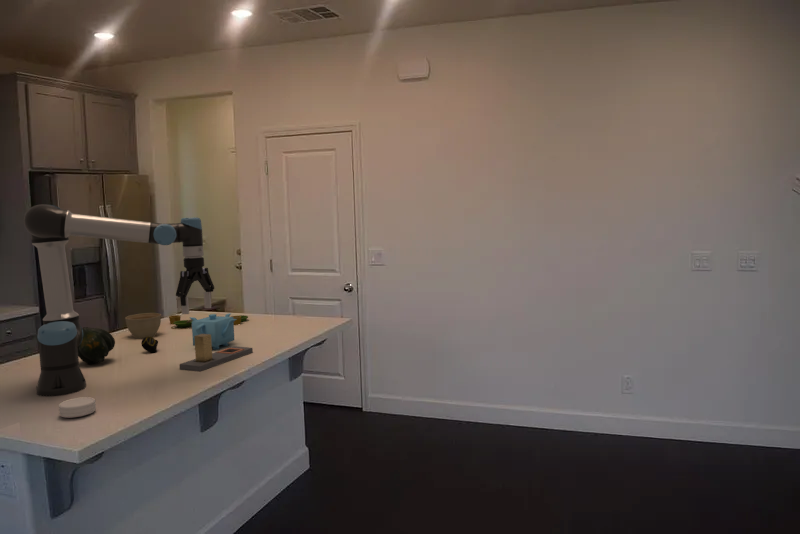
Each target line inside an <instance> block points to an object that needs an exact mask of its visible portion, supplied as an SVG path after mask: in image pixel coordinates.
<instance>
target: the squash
mask: <svg viewBox="0 0 800 534" xmlns="http://www.w3.org/2000/svg"><path fill="white" fill-rule="evenodd" d="M82 330H83V339H82V342H81V343H80V345H79V346H78V358H79V360H81V361H82V362H83V363H86V364H89V365H92V364H96V363H101V362H103V361H104V360H105V358H107V357H108V355H109V353H110V352H111V351H112V350H113V349H114V348H115V346H116V345H115V344H116V340H115V338H114V336H113V335H112V334H111V333H110V332H109V331H107V330H105V329H103V328H97V327H96V328H95V327H88V326H87V327H86V326H84V327H82Z"/></svg>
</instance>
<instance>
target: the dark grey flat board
mask: <svg viewBox="0 0 800 534" xmlns="http://www.w3.org/2000/svg"><path fill="white" fill-rule="evenodd" d="M253 349H254V348H253V347H248V346H247V347H246V346H235V345H233V346H230V347H227V348H224V349H221V350H218V351H215V352H212V360H211V361H208V362H205V363H204V362H196V358H194V359H191V360H188V361H185V362H182V363H179V370H182V371H183V370H185V371H192V372H193V371H194V372H202V371H205V370H208V369H210V368H213V367H216V366H219V365H221V364H224V363H227V362H230V361H232V360H233V361H234V360H235V359H238V358H241V357H243V356H247V355H249V354H251V353H253Z"/></svg>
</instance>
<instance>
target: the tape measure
mask: <svg viewBox="0 0 800 534" xmlns="http://www.w3.org/2000/svg"><path fill="white" fill-rule="evenodd" d="M140 343H141V347H142V348H143V349H144V350H145V351H146V352H149V353H152V354H155V353H156V352H157V349H158V344H159V340H158V339H155V338H154V337H149V336H147V337H145V338H142V340H141V341H140Z"/></svg>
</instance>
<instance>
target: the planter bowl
mask: <svg viewBox="0 0 800 534" xmlns="http://www.w3.org/2000/svg"><path fill="white" fill-rule="evenodd" d="M161 318H162V314H161V313H157V312H145V313H137V314H130V315H128V316H125V318H124V320H125V324H126V327H127V329H128V332H130V334H131V335H132V336H133V338H134V339H142V340H143V339H144V338H145V337H147V336H149V337H152V338H154V337H155V336H156V334H157V332H158V331H159V329H160V327H161V321H162V320H161Z"/></svg>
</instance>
